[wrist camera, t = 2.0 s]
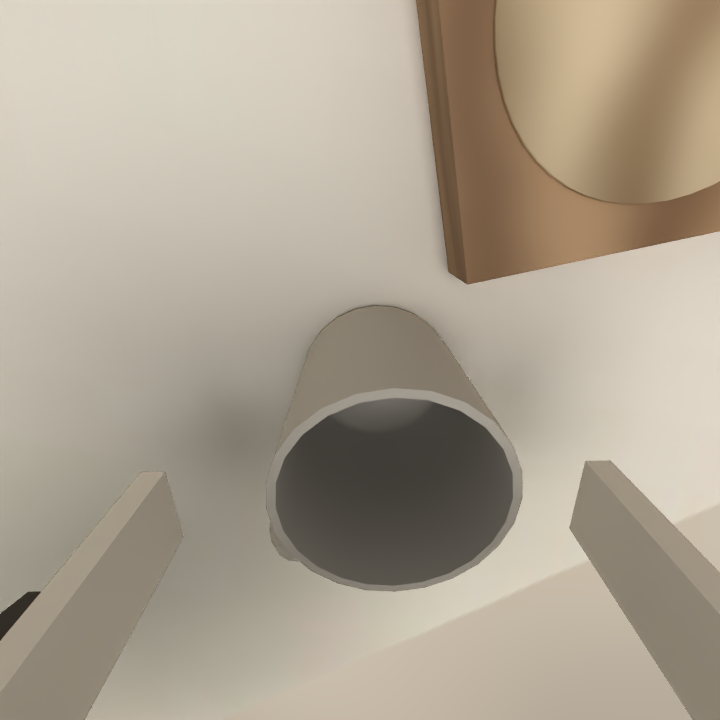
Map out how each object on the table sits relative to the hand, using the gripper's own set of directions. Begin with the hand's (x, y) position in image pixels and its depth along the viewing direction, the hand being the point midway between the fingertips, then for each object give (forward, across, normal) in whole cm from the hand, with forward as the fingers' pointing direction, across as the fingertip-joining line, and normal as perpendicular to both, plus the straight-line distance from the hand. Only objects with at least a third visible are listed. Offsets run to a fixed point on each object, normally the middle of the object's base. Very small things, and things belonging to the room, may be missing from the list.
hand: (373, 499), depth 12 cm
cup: (+8, -1, 0) cm, 8 cm away
